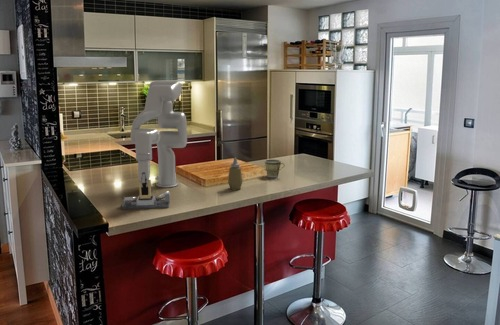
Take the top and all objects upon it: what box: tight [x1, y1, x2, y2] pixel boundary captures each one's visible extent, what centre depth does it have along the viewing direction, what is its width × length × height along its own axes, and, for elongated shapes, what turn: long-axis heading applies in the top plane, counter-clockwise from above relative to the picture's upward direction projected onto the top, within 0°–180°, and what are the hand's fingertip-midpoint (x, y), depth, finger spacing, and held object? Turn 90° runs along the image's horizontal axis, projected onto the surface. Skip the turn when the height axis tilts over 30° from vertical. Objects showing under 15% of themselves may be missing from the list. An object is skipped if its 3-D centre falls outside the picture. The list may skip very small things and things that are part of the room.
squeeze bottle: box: [227, 157, 243, 191], centre depth 245 cm, size 8×8×18 cm
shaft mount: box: [121, 190, 171, 211], centre depth 213 cm, size 23×9×7 cm, turn 99°
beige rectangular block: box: [138, 179, 152, 199], centre depth 212 cm, size 5×5×8 cm
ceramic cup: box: [264, 158, 285, 179], centre depth 274 cm, size 13×10×10 cm
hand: (145, 192), depth 212 cm, fingers closed on beige rectangular block, 5 cm apart
